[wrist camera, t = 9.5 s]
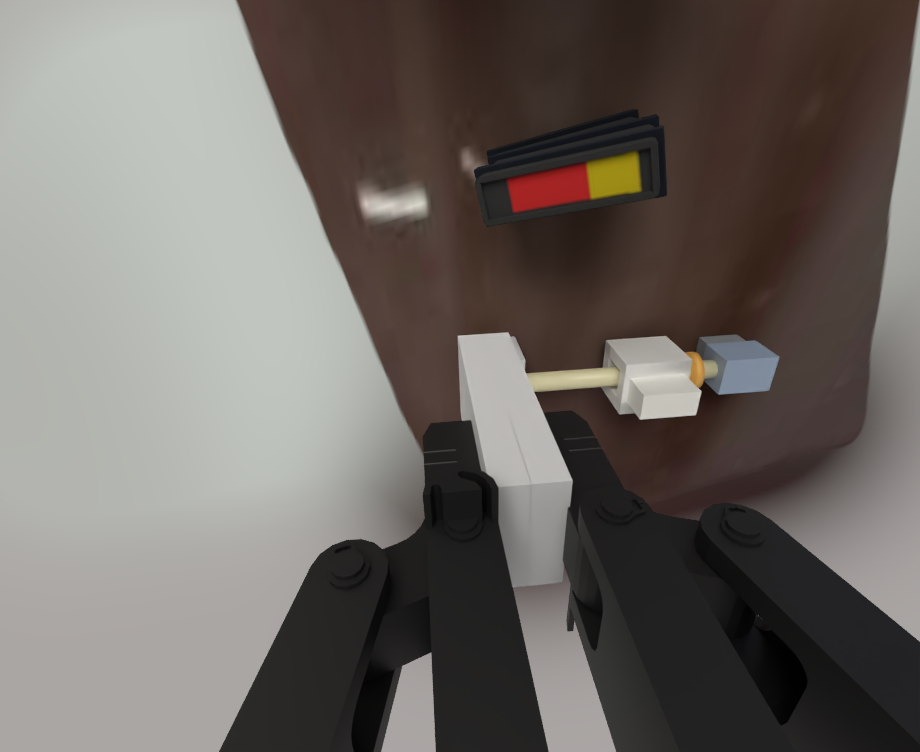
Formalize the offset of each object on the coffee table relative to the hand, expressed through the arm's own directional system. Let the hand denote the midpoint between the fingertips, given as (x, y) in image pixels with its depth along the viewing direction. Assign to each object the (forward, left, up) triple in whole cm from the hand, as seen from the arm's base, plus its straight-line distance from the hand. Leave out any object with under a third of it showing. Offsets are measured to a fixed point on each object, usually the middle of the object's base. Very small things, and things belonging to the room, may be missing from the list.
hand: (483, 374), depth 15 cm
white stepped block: (+16, +19, -29) cm, 38 cm away
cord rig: (+16, +17, -30) cm, 38 cm away
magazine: (-3, +9, -31) cm, 32 cm away
